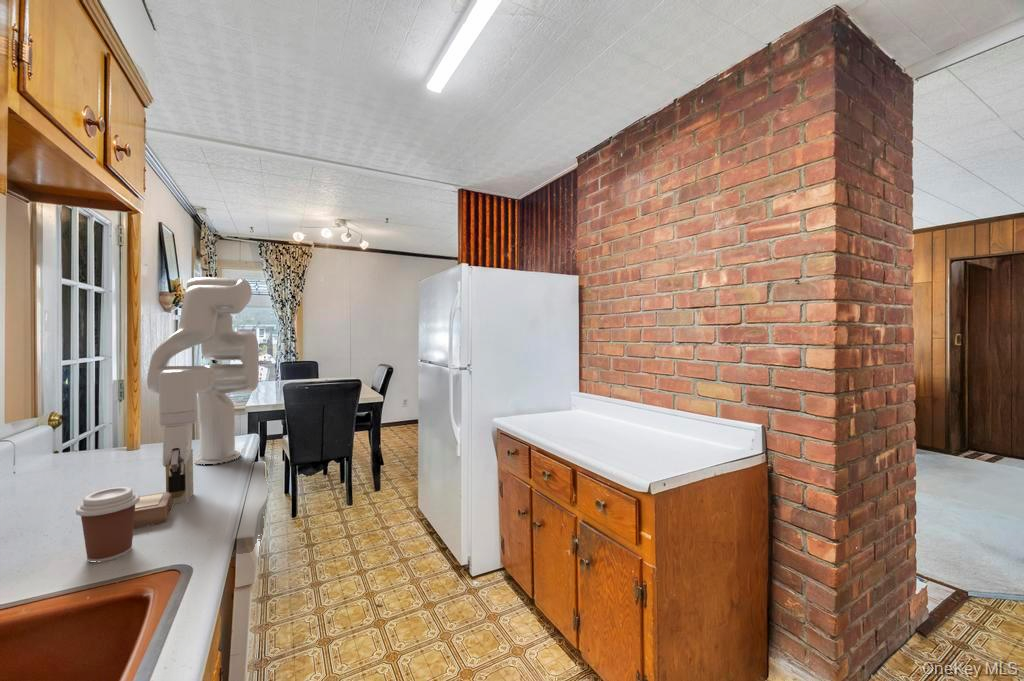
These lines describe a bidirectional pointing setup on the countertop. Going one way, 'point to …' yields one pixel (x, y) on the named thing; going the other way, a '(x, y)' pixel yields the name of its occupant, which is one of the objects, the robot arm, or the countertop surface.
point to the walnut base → (153, 509)
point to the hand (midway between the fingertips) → (179, 485)
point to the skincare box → (188, 492)
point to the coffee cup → (108, 522)
